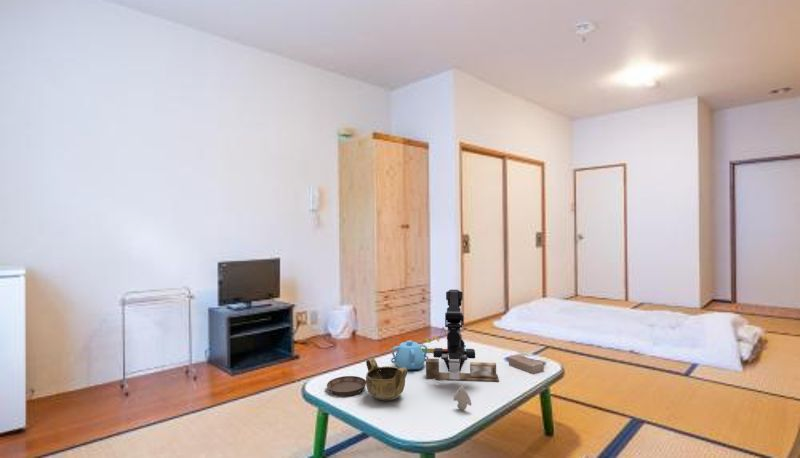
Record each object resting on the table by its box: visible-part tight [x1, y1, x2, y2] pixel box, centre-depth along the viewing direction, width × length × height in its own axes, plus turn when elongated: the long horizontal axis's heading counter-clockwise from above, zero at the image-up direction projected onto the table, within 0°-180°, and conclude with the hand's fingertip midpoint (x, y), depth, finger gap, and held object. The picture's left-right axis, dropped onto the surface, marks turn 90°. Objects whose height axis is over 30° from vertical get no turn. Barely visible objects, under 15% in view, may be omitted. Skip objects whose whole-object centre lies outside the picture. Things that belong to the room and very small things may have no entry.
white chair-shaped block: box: [448, 358, 461, 380], centre depth 194 cm, size 4×9×6 cm, turn 173°
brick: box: [508, 354, 545, 375], centre depth 216 cm, size 17×8×5 cm, turn 32°
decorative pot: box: [390, 340, 429, 371], centre depth 220 cm, size 16×16×14 cm
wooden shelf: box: [425, 357, 500, 383], centre depth 204 cm, size 34×8×8 cm, turn 83°
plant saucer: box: [326, 375, 366, 397], centre depth 192 cm, size 18×18×3 cm
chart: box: [421, 326, 467, 354], centre depth 243 cm, size 30×3×15 cm, turn 84°
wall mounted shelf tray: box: [469, 361, 497, 378], centre depth 202 cm, size 12×4×6 cm, turn 83°
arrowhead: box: [453, 385, 472, 411], centre depth 169 cm, size 8×3×10 cm, turn 54°
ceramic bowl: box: [365, 357, 408, 402], centre depth 182 cm, size 22×17×15 cm
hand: (454, 371), depth 194 cm, fingers closed on white chair-shaped block, 4 cm apart
